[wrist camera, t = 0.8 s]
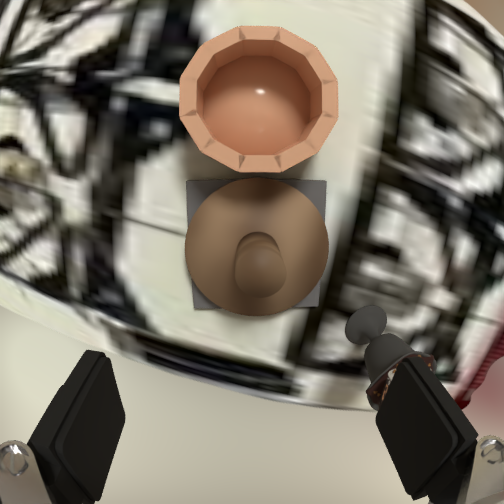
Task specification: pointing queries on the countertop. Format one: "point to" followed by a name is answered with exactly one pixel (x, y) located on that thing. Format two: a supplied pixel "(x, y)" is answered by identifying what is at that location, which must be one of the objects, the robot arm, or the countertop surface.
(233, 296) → the lid
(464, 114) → the countertop surface
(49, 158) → the countertop surface
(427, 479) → the robot arm
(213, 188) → the mat
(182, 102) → the bowl
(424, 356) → the sundae
